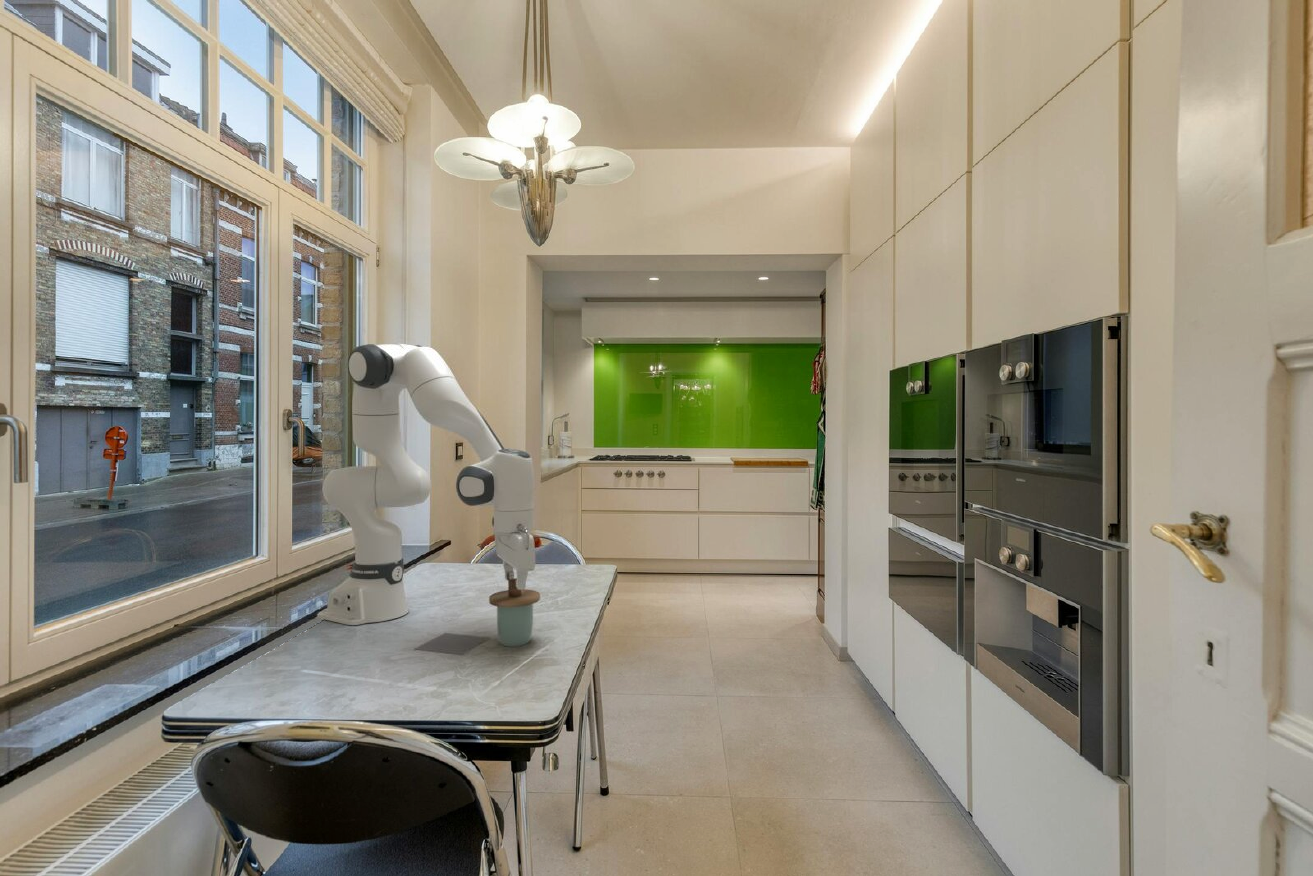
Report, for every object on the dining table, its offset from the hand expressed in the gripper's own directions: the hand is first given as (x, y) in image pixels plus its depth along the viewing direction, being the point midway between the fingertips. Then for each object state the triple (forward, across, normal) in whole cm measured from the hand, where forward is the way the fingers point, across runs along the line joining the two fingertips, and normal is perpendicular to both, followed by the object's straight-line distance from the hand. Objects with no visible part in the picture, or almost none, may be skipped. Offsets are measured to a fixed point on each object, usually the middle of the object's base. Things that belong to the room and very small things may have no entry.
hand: (514, 584), depth 131 cm
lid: (+4, 0, 0) cm, 4 cm away
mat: (+14, +6, +12) cm, 19 cm away
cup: (+14, 0, 0) cm, 14 cm away
